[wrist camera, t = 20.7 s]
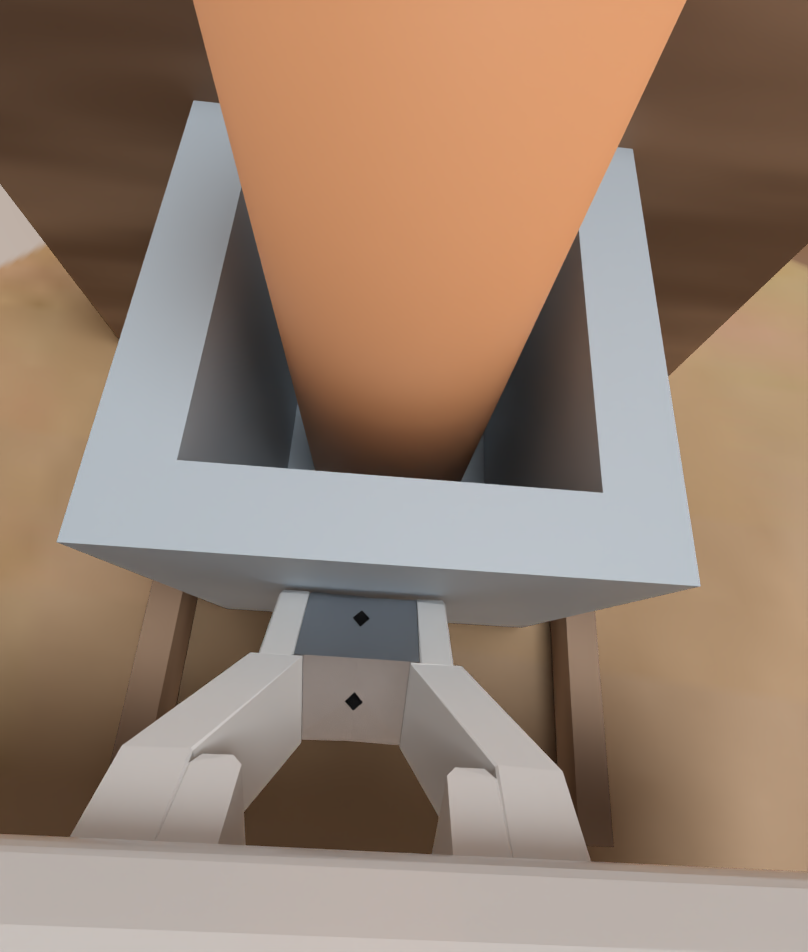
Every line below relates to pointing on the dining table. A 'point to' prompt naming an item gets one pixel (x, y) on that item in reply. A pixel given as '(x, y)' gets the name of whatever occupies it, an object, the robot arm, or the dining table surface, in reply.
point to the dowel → (419, 195)
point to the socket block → (371, 496)
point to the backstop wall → (648, 133)
